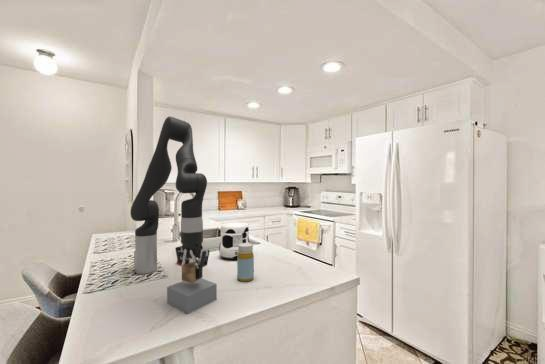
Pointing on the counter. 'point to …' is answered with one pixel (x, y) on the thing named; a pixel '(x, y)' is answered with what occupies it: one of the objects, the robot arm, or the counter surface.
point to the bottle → (245, 262)
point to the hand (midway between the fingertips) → (192, 277)
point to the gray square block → (191, 295)
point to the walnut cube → (189, 272)
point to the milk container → (233, 238)
